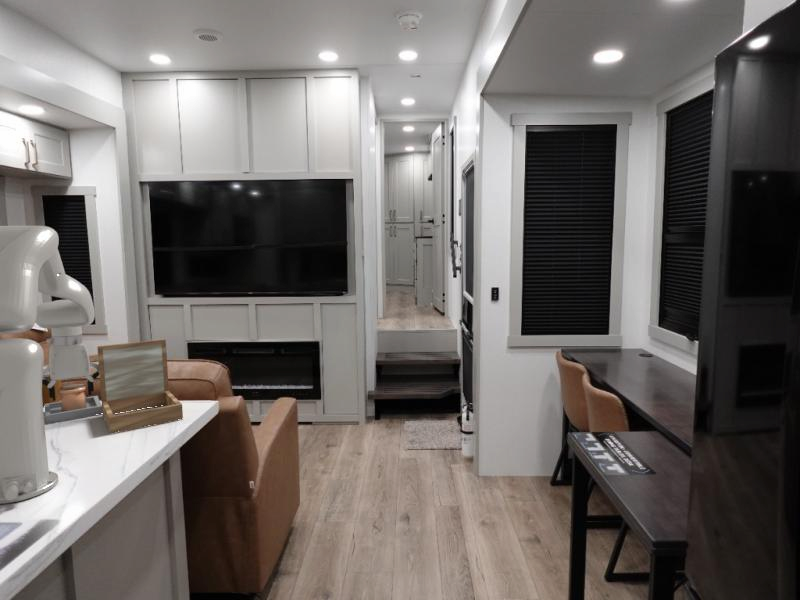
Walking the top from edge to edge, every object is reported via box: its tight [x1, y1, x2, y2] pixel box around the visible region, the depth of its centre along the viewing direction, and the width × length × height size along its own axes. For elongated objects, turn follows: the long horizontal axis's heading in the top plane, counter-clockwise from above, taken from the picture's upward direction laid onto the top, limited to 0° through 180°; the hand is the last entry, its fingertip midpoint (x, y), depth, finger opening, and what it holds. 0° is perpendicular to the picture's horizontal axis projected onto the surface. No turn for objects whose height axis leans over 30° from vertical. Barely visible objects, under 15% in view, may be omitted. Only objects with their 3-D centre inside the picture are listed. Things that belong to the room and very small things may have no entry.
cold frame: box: [97, 338, 184, 434], centre depth 146 cm, size 19×18×21 cm
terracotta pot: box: [58, 383, 88, 412], centre depth 152 cm, size 7×7×7 cm
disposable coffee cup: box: [42, 364, 62, 406], centre depth 161 cm, size 10×10×12 cm
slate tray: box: [44, 395, 102, 425], centre depth 152 cm, size 14×14×2 cm
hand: (72, 396), depth 152 cm, fingers open, 8 cm apart
